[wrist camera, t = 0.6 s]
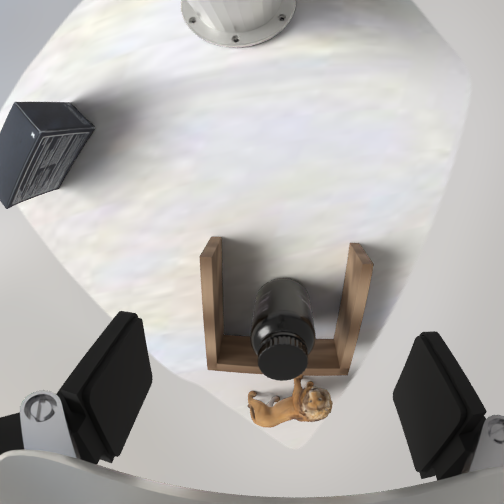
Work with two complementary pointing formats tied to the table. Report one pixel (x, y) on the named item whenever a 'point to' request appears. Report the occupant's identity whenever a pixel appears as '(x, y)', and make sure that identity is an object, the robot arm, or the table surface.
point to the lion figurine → (292, 406)
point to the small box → (39, 148)
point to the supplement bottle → (282, 329)
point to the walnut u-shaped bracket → (325, 350)
